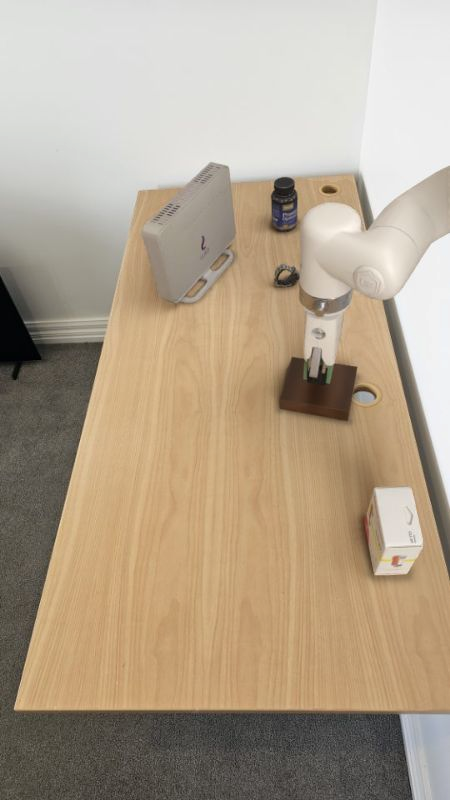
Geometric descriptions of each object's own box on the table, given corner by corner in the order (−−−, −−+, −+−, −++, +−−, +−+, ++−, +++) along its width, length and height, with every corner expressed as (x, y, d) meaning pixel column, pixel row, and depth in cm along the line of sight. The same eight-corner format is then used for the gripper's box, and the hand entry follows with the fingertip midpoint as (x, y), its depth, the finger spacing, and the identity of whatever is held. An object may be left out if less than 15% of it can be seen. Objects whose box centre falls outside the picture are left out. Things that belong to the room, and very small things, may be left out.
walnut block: (355, 376, 92) (357, 366, 90) (347, 421, 87) (349, 411, 84) (291, 366, 95) (291, 356, 93) (279, 409, 90) (279, 399, 87)
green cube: (334, 363, 87) (336, 346, 83) (329, 383, 84) (331, 366, 81) (308, 359, 88) (309, 342, 84) (303, 379, 85) (304, 362, 82)
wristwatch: (287, 292, 109) (302, 276, 106) (269, 281, 107) (284, 264, 104) (285, 284, 111) (300, 268, 108) (267, 273, 109) (282, 256, 106)
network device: (184, 316, 106) (166, 236, 90) (152, 303, 109) (128, 225, 93) (245, 246, 118) (238, 164, 102) (214, 236, 121) (202, 156, 105)
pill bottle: (284, 236, 118) (284, 193, 109) (266, 226, 121) (264, 183, 112) (302, 223, 120) (303, 181, 111) (284, 214, 123) (283, 171, 114)
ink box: (362, 519, 76) (372, 484, 67) (395, 517, 76) (410, 483, 66) (372, 576, 71) (384, 548, 62) (408, 575, 71) (426, 546, 61)
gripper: (343, 337, 66) (332, 414, 80) (360, 255, 75) (348, 338, 89) (286, 329, 68) (287, 406, 82) (310, 250, 77) (307, 332, 91)
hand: (319, 370), depth 86 cm, fingers closed on green cube, 4 cm apart
